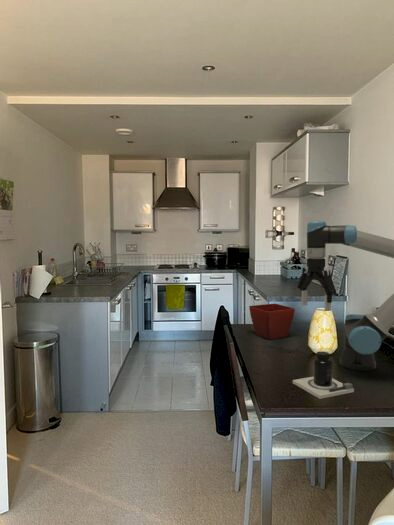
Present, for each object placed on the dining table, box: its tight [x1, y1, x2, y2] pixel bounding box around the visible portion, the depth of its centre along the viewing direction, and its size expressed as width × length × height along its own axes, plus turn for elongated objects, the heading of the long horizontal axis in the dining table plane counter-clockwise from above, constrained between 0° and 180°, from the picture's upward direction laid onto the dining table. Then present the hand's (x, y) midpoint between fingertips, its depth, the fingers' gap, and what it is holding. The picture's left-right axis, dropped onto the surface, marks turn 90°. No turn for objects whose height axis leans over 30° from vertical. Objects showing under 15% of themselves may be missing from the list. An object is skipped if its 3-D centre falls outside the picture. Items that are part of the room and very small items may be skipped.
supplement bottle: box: [313, 351, 333, 386], centre depth 152 cm, size 7×7×12 cm
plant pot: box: [248, 303, 296, 340], centre depth 226 cm, size 19×19×17 cm
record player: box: [292, 376, 355, 400], centre depth 152 cm, size 16×16×3 cm
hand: (315, 307), depth 168 cm, fingers open, 13 cm apart
